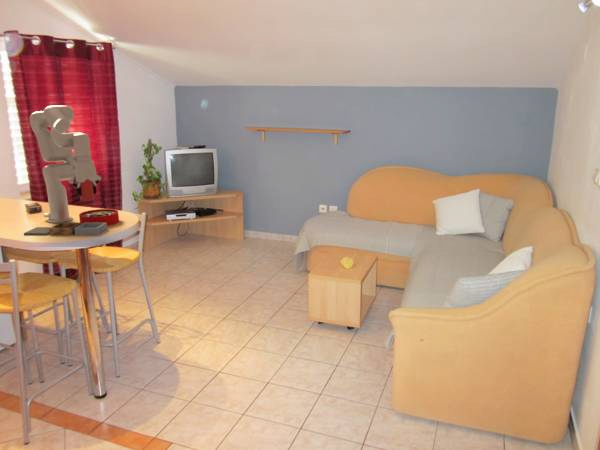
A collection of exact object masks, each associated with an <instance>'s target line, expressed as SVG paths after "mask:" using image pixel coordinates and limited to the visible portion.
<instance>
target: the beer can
mask: <svg viewBox="0 0 600 450" xmlns="http://www.w3.org/2000/svg"><path fill="white" fill-rule="evenodd" d="M80 188H81V196H79V198H80V202H84V203H86V202H87V203H88V202H93V201H95V194H94V190H93V182H92V181H90V180H89V179H87V180H85V182H83V183H81V184H80Z"/></svg>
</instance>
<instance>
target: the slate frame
mask: <svg viewBox="0 0 600 450" xmlns="http://www.w3.org/2000/svg"><path fill="white" fill-rule="evenodd" d="M74 229H75V234H74V235H75V236H99V235H101V234H102V233H103V232H105V231H107V230H108V226H107V223H83V224H81V225H80V226H78V227H76V228H74Z"/></svg>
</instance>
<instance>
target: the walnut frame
mask: <svg viewBox="0 0 600 450" xmlns="http://www.w3.org/2000/svg"><path fill="white" fill-rule="evenodd" d="M81 224H82V223H80V222H60V223H56V224H54V225H52V226H50V227H51V228H49V232H50V234H49V236H74V235H75V229H74V228H76V227H78V226H80V225H81Z"/></svg>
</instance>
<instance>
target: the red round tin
mask: <svg viewBox="0 0 600 450" xmlns="http://www.w3.org/2000/svg"><path fill="white" fill-rule="evenodd" d="M78 216H79V217H78V218H79V223H82V224H83V223H107V227H109V226H114V225H116V224H119V222H120V217H119V211H118V209H113V208H112V209H111V208H100V209H98V208H97V209H90V210H86V211H82V212H80V213H79V214H78Z"/></svg>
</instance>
